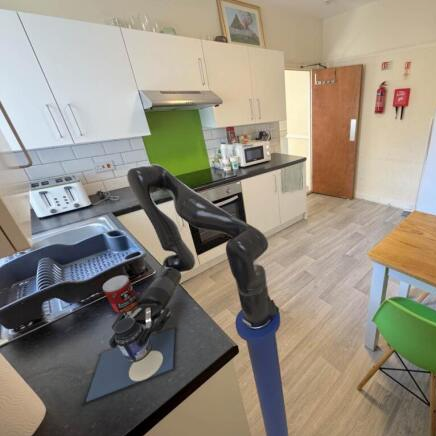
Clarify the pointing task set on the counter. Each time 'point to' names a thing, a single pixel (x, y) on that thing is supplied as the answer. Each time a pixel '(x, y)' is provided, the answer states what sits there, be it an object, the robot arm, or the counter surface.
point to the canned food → (120, 293)
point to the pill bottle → (131, 340)
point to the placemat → (132, 366)
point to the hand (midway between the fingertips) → (125, 345)
